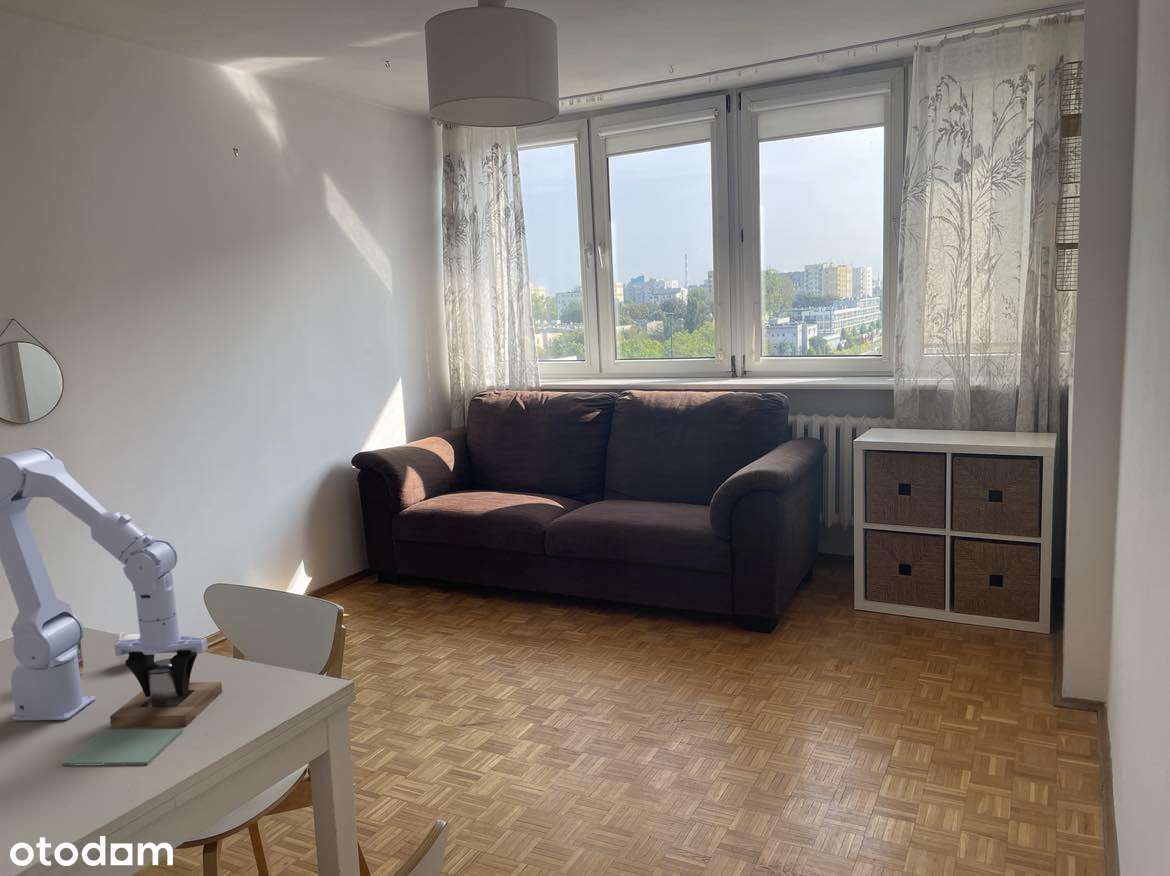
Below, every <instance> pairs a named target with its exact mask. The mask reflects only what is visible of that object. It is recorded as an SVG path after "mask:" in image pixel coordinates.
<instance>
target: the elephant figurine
mask: <svg viewBox="0 0 1170 876" xmlns="http://www.w3.org/2000/svg"><path fill="white" fill-rule="evenodd" d="M133 639H140V633H129V634H127V635H125V633H124V632H123V631H121V632H120V633H118V636H117V637H116V639H115V642H114V645H115V644H117V643H118V642H119V641H121V640H133ZM128 657H129V654H124V655H122V656H117V659H118V660H120V661H121V662H122V663H123V664H124V665H126V664H125V661H126V660H127V659H128ZM118 660H117V661H118Z"/></svg>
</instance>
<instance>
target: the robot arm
mask: <svg viewBox="0 0 1170 876" xmlns="http://www.w3.org/2000/svg"><path fill="white" fill-rule="evenodd" d="M33 498H49V499H52V500H53V502H55V503H57V504H58V505H59V506H61V507H62V508H64V509H65V510H67V511H68V512H69V513H70V514H72V515H73V516H75V517H76V518H77V519H79V520H80V521H81V522H83V523H85V525H87V526H89V528H90V536H91V539H92V540H93V541H95V543H97V544H98V545H100V546H101V547H102V548H103V549H104V550H106V551H107V552H108V553H109V554H110V555H112V556H113V557H114V558H115V559H117V560H118V561H119V562H120V563H121V564H122V565H124V566H123V567H122V569H123V573H124V575H125V577H126V578H127V579H128V581H130V583H131V585H132V590H133V592H134V594H135V604H136V611H137V619H138V620H137V622H138V629H139V634H140V639H133V640H121V641H119V642H118V643H117V644H115V643H114V654H115V657H118V656H122V655H124V654H129V657H128V659H127V660H126V661H125V664H124V665H125V666H126V667H127V668H128V669H129V670H130V671H131V673H132V674H133V675H134V676H135V678H136V680H137V681H138V683H139V685H140V687H141V689H142V690H143V692H144V694H145V696H146V697H150V690H149V683H148V675H147V666H148V665H149V664H151V663H153V662H155V655H156V654H170V653H172V654H173V653H175V655H173V656H172V658H171V659H170V658H169V659H170V663H171V665H172V667H173V670H174V673H175V677H176V683H177V692H178V695H179V696H184V695H185V694H186V693H187V692H188V689H189V682H190V679H191V675H192V670H193V667H194V664H195V660H196V658H197V656H198V654H203V653H204V652H206V651H207V650H208V648H209V646H208V638H207V637H197V636H196V637H195V636H187V635H181V634H180V629H179V621H178V615H177V614H178V613H177V605H176V595H175V588H174V578H173V572H172V570H174V569H175V567H176V565H177V562H178V554H177V551H176V549H175V548H174V547H173V545H171V543H170V541H168V540H165V539H161V538H160V539H158V538H154V537H153V536H152V535H151V534H148V533H146V532H145V531H144V530H142V528H140V527H139V526H137V525H136V524H135V523H134V522H133V521H132V519H133V517H131V516H130V515H129V514H127V513H122V512H121V511H108V510H107V509H106V508H105V507H104V506H103V505H101V504H100V503H99V502H98V501H97V500H96V499H95V498H94V497H93V496H92V494H90V493H89V492H88V491H87V490H86V489H85V488H84V487H83V486H81V485H80V484H79V482H78V481H76V480H75V479H74V478H73V477H72V476H71V475H70V474H69V473H68V472H67V469H66V467H65V464H64V462H63V461H61V460H60V459H58V458H57V457H55V456H54V454H53V453H52V452H50V450H48V449H47V448H44V447H38V446H37V447H36V446H35V447H32V448H28V449H26V450H22V451H19V452H15V453H11V454H6V455H1V456H0V562H1V564H2V567H3V571H4V572H5V573H4V574H5V576H6V578H7V582H8V584H9V587H10V589H11V590H10V591H11V592H12V594H13V595H12V596H13V597H14V600H15V601H14V602H16V606H17V609H18V613H17V614H16V617H15V619H14V621H13V623H12V625H11V628H10V629H11V632H12V635H13V646H12V649H13V650H12V651H13V654H14V656H15V658H16V660H17V661H18V664H17V665H16V666H15V667H14V669H13V670H12V673H11V674H12V675H11V679H10V680H11V681H10V684H11V691H12V698H13V704H14V710H15V715H14V716H12V721H66V720H69V719H71V718H72V717H73V716H74V715H76V714H77V713H78V712H80V711H81V710H82V709H83V708H85V707H87V706H88V705H89V704H90V703H92V702H93V701H95V700H96V696H95V695H83V687H82V680H81V675H80V672H79V664H78V657H77V651H78V644H79V643H80V642H82V640H83V638H84V634H85V629H84V625H83V623H82V621H81V620H80V619H79V617H78V616H76V615H75V613H74V612H73V609H72V607H71V604H69V603H68V602H66V601H64V600H61V599H59V598H58V597H57V595H56V592H55V589H54V588H53V584H52V581H51V579H50V576H49V573H48V570H47V567H46V564H45V562H44V559H43V556H42V554H41V549H40V548H39V545H38V542H37V539H36V537H35V534H34V530H33V528H32V525H31V523H30V520H29V517H28V515H27V512H26V510H27V507H28V506H29V504H30V503H31V501H32V500H33Z"/></svg>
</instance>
